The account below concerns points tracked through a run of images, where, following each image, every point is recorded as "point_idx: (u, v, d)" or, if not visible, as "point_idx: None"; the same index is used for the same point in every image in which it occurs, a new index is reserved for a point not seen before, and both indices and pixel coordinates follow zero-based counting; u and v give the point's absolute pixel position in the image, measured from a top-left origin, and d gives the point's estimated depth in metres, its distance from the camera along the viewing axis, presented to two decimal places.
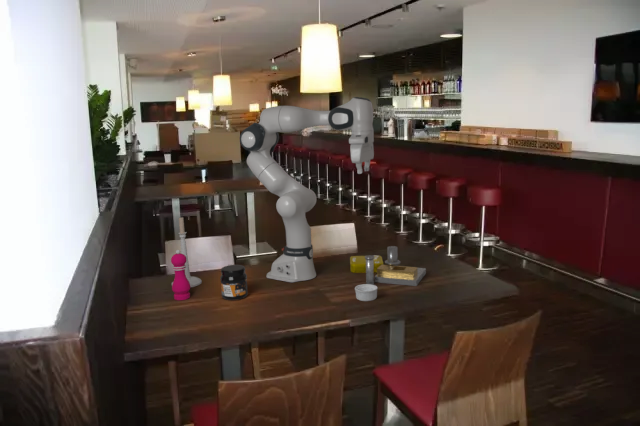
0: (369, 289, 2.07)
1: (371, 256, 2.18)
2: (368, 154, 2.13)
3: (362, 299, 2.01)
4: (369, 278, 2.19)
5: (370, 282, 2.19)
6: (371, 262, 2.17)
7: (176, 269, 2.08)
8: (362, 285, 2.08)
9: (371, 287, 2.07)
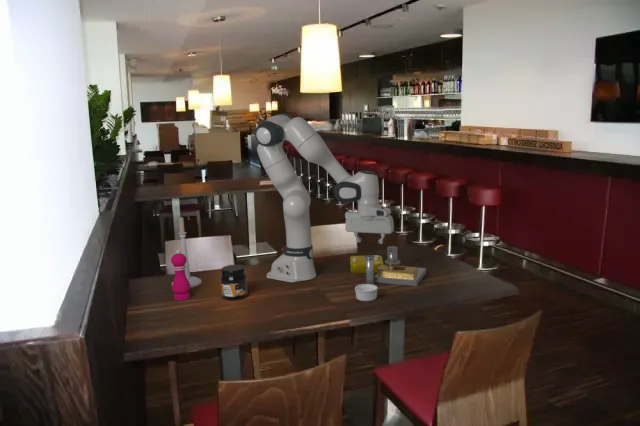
0: (369, 289, 2.07)
1: (371, 256, 2.18)
2: None
3: (362, 299, 2.01)
4: (369, 278, 2.19)
5: (370, 282, 2.19)
6: (371, 262, 2.17)
7: (176, 269, 2.08)
8: (362, 285, 2.08)
9: (371, 287, 2.07)
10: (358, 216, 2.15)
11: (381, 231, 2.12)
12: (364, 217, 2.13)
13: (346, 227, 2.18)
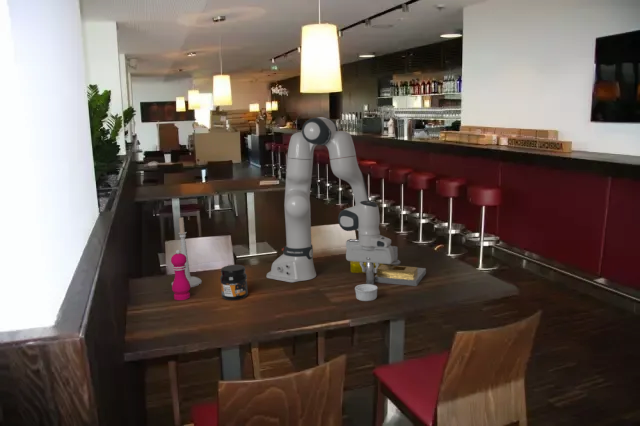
0: (369, 289, 2.07)
1: None
2: None
3: (362, 299, 2.01)
4: (369, 278, 2.19)
5: (370, 282, 2.19)
6: None
7: (176, 269, 2.08)
8: (362, 285, 2.08)
9: (371, 287, 2.07)
10: (359, 246, 2.18)
11: (381, 261, 2.15)
12: (365, 247, 2.15)
13: (347, 256, 2.21)
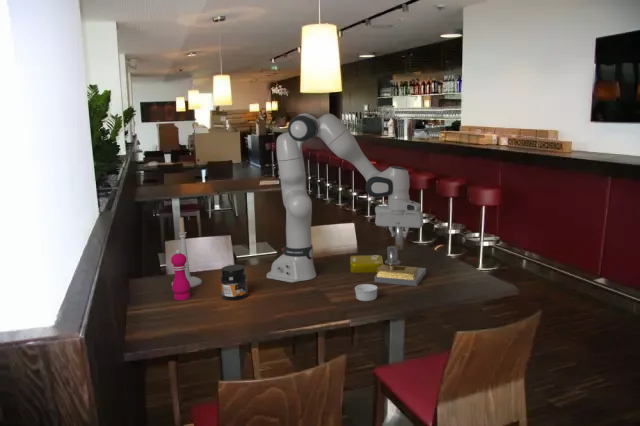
0: (369, 289, 2.07)
1: None
2: None
3: (362, 299, 2.01)
4: (398, 243, 2.21)
5: (399, 247, 2.22)
6: (400, 227, 2.20)
7: (176, 269, 2.08)
8: (362, 285, 2.08)
9: (371, 287, 2.07)
10: (388, 210, 2.20)
11: (411, 225, 2.17)
12: (394, 211, 2.18)
13: (376, 221, 2.23)
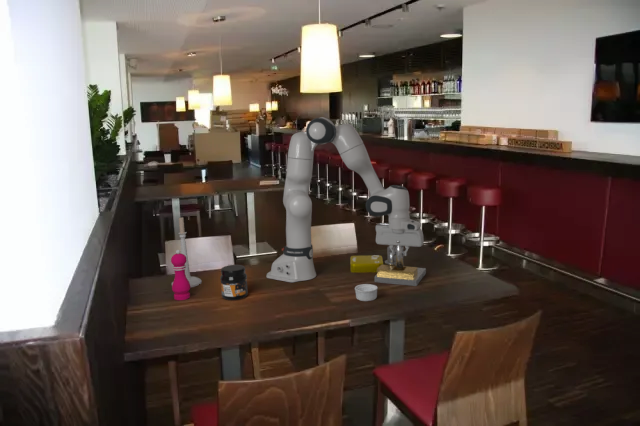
0: (369, 289, 2.07)
1: None
2: None
3: (362, 299, 2.01)
4: (399, 261, 2.23)
5: (400, 265, 2.23)
6: None
7: (176, 269, 2.08)
8: (362, 285, 2.08)
9: (371, 287, 2.07)
10: (389, 229, 2.22)
11: (411, 244, 2.19)
12: (395, 230, 2.19)
13: (376, 240, 2.25)
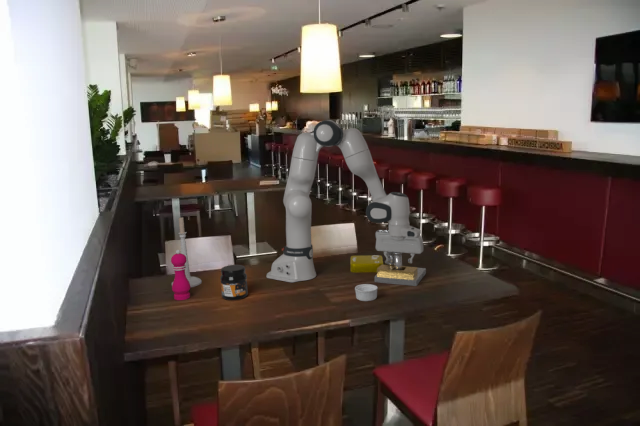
0: (369, 289, 2.07)
1: None
2: None
3: (362, 299, 2.01)
4: None
5: None
6: (399, 257, 2.23)
7: (176, 269, 2.08)
8: (362, 285, 2.08)
9: (371, 287, 2.07)
10: (389, 236, 2.22)
11: (411, 251, 2.19)
12: (395, 237, 2.20)
13: (376, 246, 2.25)
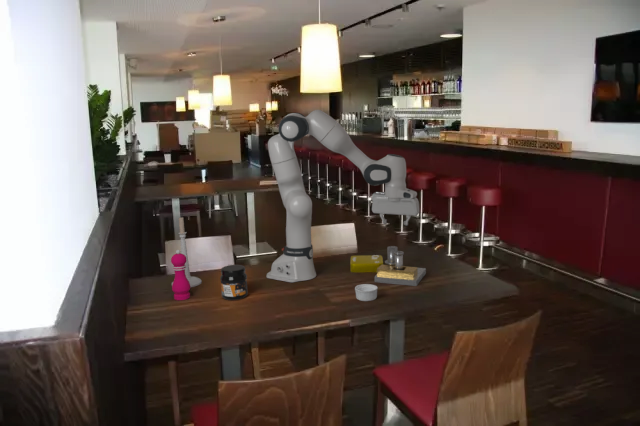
0: (369, 289, 2.07)
1: (400, 252, 2.23)
2: None
3: (362, 299, 2.01)
4: None
5: None
6: (400, 258, 2.23)
7: (176, 269, 2.08)
8: (362, 285, 2.08)
9: (371, 287, 2.07)
10: (385, 198, 2.23)
11: (407, 213, 2.20)
12: (391, 199, 2.21)
13: (373, 208, 2.26)
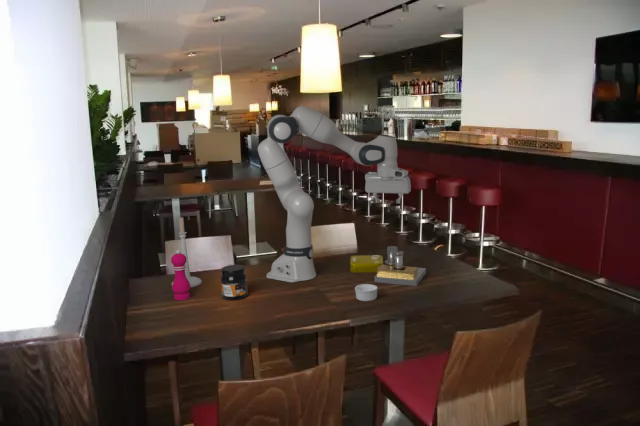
0: (369, 289, 2.07)
1: (400, 252, 2.23)
2: None
3: (362, 299, 2.01)
4: None
5: None
6: (400, 257, 2.23)
7: (176, 269, 2.08)
8: (362, 285, 2.08)
9: (371, 287, 2.07)
10: (377, 177, 2.31)
11: (399, 191, 2.28)
12: (383, 178, 2.29)
13: (366, 188, 2.34)
